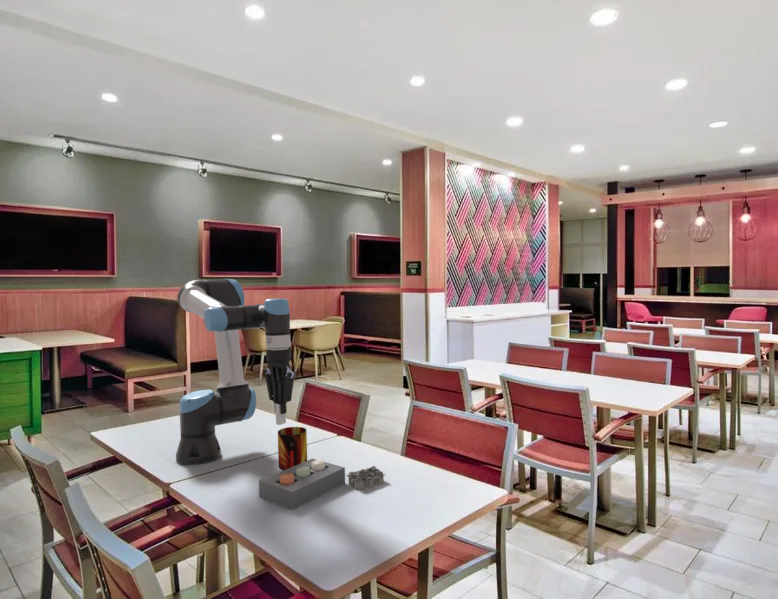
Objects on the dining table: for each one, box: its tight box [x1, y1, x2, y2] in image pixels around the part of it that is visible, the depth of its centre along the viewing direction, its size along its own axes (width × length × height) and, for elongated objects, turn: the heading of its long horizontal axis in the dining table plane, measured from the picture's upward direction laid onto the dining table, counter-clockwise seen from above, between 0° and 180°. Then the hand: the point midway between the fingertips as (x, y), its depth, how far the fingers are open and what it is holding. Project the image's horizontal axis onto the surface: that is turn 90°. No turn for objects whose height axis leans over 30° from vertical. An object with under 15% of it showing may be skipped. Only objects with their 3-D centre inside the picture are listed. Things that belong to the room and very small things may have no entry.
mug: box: [277, 426, 308, 471], centre depth 177 cm, size 10×14×12 cm
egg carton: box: [346, 465, 386, 490], centre depth 163 cm, size 11×8×4 cm
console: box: [258, 458, 346, 511], centre depth 158 cm, size 14×22×5 cm, turn 144°
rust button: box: [279, 473, 294, 486], centre depth 152 cm, size 4×4×3 cm
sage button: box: [296, 466, 310, 478], centre depth 158 cm, size 4×4×3 cm
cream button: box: [311, 459, 326, 471], centre depth 163 cm, size 4×4×3 cm
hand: (281, 423), depth 163 cm, fingers closed
